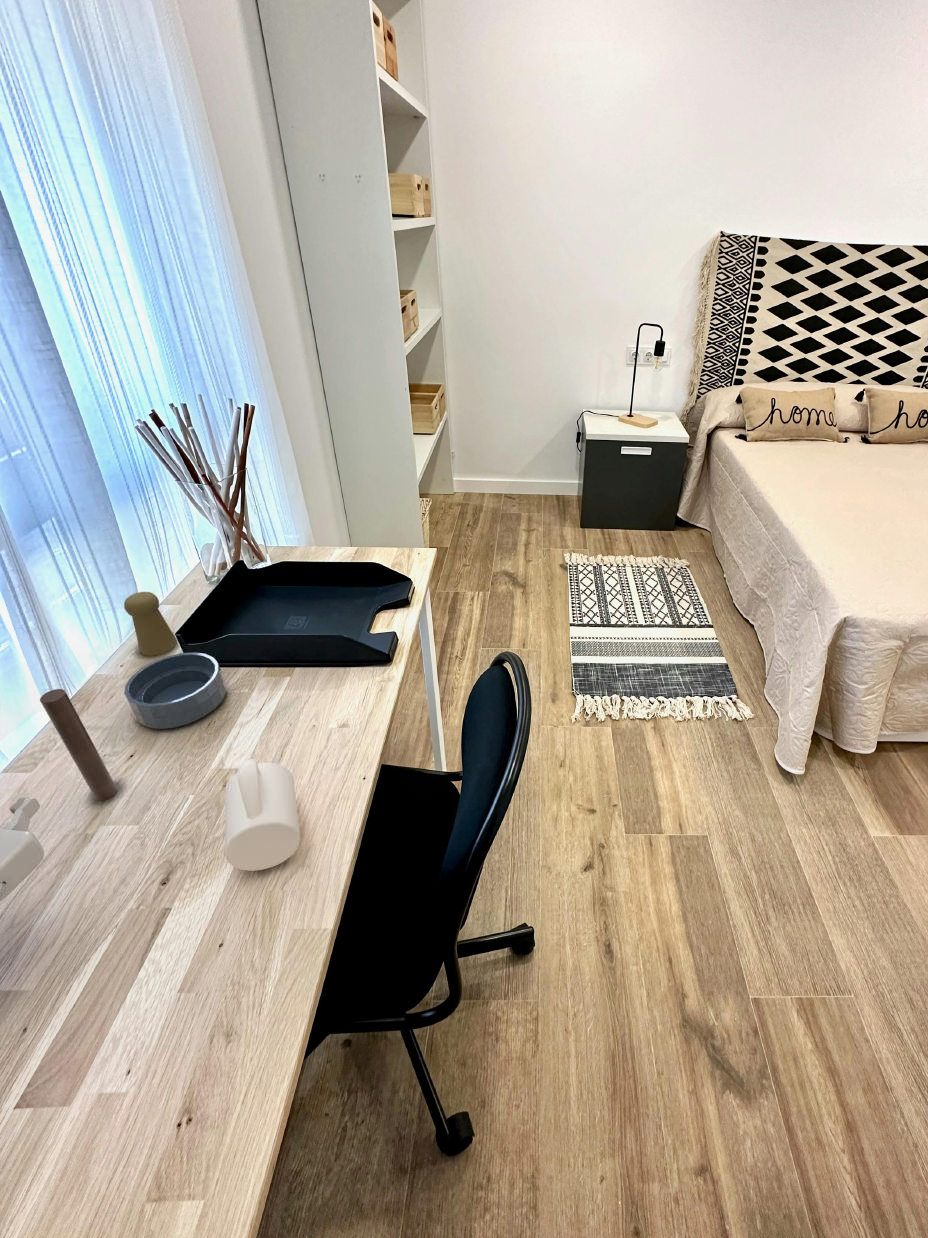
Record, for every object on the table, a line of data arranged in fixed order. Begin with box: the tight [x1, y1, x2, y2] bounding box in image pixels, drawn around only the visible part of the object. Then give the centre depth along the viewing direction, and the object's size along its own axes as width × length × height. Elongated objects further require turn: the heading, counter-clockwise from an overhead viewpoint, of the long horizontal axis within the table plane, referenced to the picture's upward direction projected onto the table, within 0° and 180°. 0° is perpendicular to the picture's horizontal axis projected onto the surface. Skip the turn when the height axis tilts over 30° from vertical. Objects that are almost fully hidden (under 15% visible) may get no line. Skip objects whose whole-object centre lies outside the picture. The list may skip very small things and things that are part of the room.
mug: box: [224, 758, 301, 872], centre depth 77 cm, size 8×10×12 cm
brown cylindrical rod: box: [39, 688, 118, 802], centre depth 80 cm, size 3×3×18 cm
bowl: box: [123, 651, 227, 730], centre depth 99 cm, size 13×13×6 cm
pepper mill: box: [123, 591, 178, 657], centre depth 110 cm, size 6×6×11 cm
